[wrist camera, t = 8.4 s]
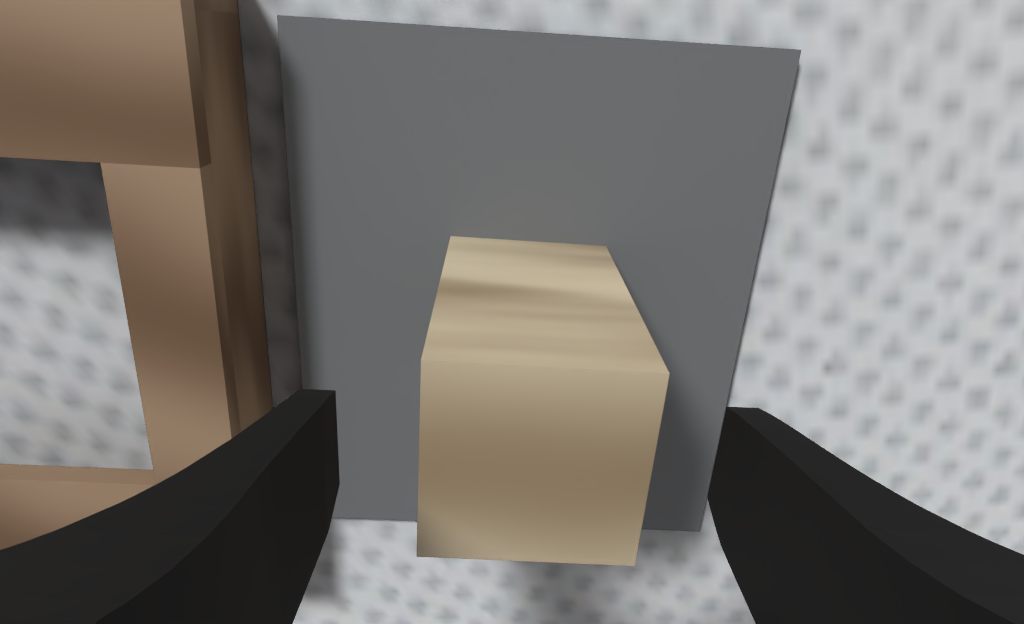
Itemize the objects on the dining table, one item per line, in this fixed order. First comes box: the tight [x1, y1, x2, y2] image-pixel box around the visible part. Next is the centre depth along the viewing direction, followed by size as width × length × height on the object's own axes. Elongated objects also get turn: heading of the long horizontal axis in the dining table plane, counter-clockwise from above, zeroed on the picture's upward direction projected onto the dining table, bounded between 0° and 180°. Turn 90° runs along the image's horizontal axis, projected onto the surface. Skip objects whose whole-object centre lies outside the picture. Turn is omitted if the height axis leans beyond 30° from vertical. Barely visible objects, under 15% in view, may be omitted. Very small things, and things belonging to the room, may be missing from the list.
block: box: [417, 236, 670, 566], centre depth 15 cm, size 4×4×7 cm
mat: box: [277, 15, 801, 531], centre depth 18 cm, size 14×12×1 cm
